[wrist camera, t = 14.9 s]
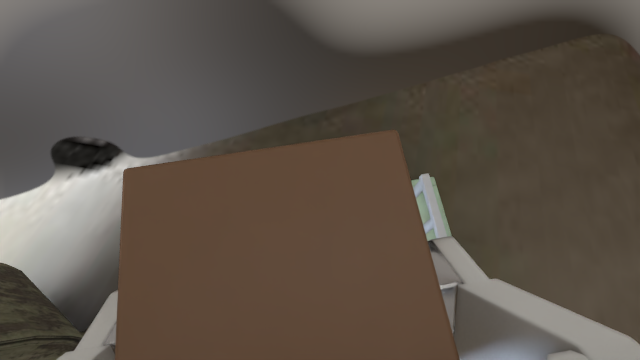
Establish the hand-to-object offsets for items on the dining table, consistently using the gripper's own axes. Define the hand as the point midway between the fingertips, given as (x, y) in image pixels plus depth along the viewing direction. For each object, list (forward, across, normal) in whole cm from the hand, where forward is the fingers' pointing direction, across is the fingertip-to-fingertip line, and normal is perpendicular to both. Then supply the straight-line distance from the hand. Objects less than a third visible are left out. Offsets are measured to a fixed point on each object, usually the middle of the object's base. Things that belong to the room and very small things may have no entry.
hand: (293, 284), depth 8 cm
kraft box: (+5, 0, -5) cm, 7 cm away
